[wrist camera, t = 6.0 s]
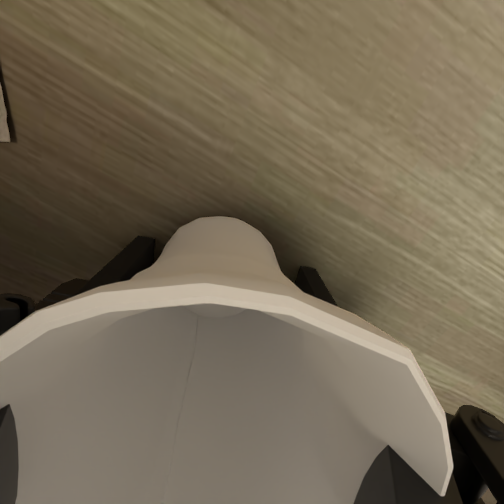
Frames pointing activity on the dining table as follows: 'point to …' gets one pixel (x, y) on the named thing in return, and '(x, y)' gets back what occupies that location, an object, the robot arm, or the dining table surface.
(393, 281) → the dining table surface
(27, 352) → the cup
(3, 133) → the condiment
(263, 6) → the dining table surface
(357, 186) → the dining table surface
